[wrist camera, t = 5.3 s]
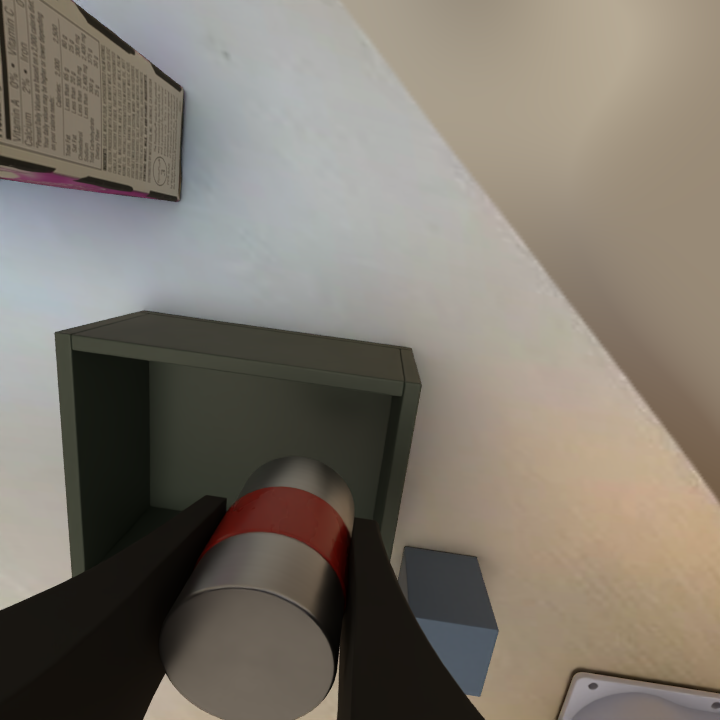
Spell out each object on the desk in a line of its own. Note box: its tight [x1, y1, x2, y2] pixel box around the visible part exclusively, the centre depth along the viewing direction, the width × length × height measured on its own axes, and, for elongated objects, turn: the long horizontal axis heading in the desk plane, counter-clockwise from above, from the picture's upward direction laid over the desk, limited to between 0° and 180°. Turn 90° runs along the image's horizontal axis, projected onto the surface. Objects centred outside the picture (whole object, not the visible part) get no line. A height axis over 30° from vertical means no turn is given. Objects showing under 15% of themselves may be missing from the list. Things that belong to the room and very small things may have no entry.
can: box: [159, 456, 355, 720], centre depth 10 cm, size 4×4×5 cm
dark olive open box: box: [55, 311, 422, 578], centre depth 18 cm, size 13×11×6 cm
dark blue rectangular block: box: [398, 547, 499, 697], centre depth 21 cm, size 4×4×4 cm
